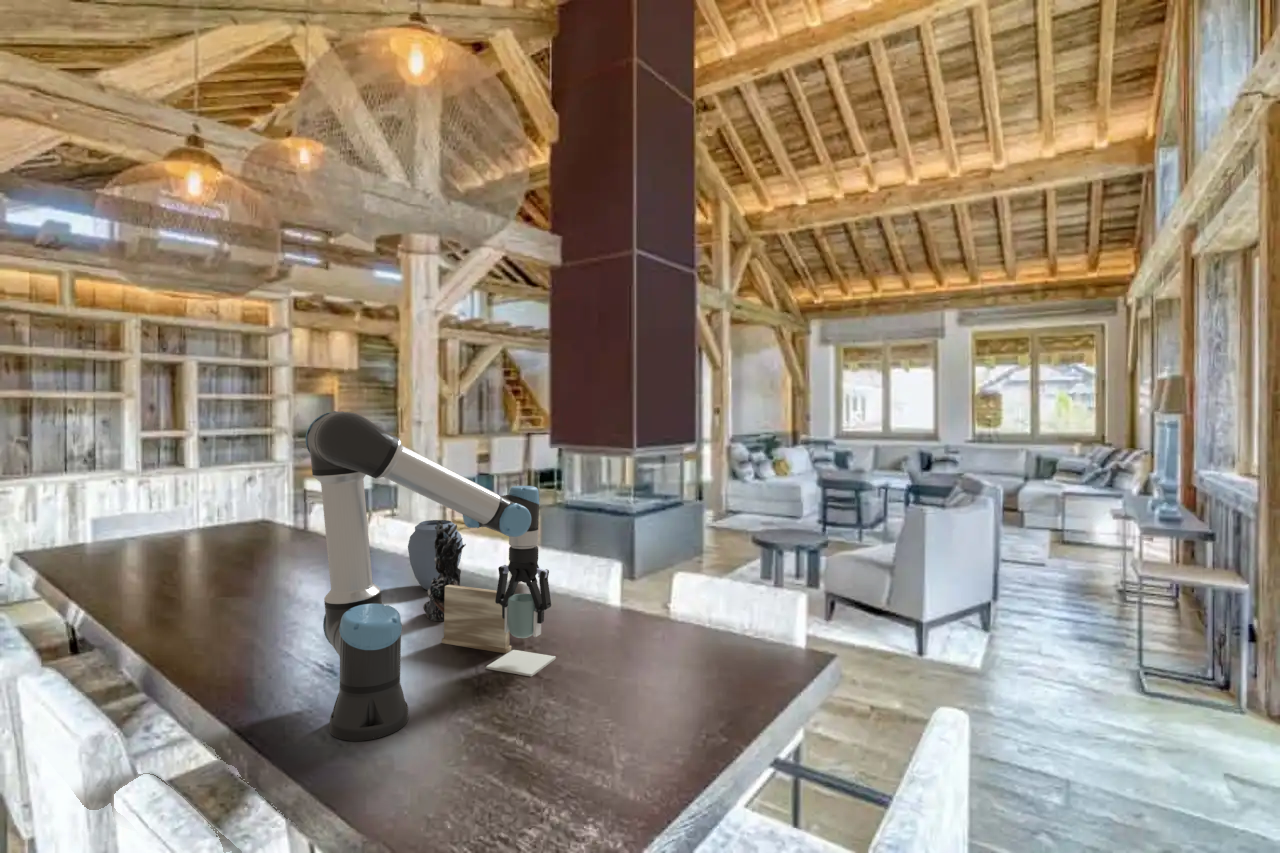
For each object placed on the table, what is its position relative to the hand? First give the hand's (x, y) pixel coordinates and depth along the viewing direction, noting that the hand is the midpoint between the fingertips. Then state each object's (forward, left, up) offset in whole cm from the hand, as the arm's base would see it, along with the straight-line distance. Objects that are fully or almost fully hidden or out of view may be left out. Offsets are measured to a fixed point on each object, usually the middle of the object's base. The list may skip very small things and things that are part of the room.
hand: (522, 633), depth 170 cm
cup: (0, 0, -1) cm, 1 cm away
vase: (+52, +67, -8) cm, 85 cm away
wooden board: (+6, +18, -8) cm, 21 cm away
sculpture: (+25, +43, -8) cm, 50 cm away
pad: (0, 0, -8) cm, 8 cm away
